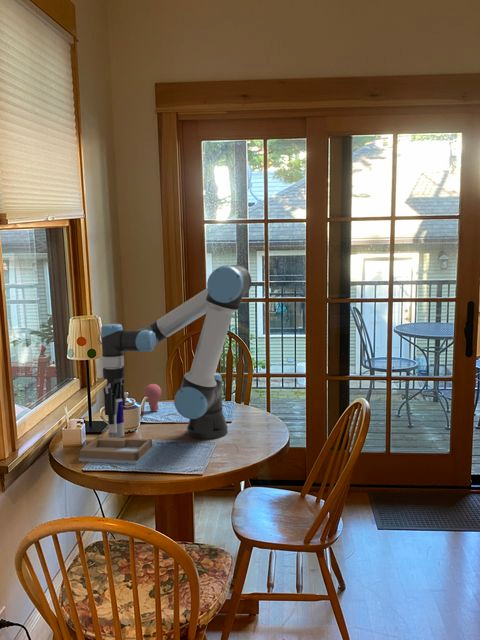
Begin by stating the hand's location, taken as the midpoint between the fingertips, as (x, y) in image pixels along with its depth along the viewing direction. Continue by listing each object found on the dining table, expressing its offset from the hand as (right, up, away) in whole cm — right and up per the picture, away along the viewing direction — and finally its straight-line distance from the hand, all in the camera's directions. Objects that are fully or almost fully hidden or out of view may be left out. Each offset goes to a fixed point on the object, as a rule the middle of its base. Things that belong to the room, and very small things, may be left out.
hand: (116, 429), depth 208 cm
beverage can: (0, -4, 0) cm, 4 cm away
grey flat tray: (+3, -6, -14) cm, 16 cm away
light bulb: (+8, +1, +36) cm, 37 cm away
